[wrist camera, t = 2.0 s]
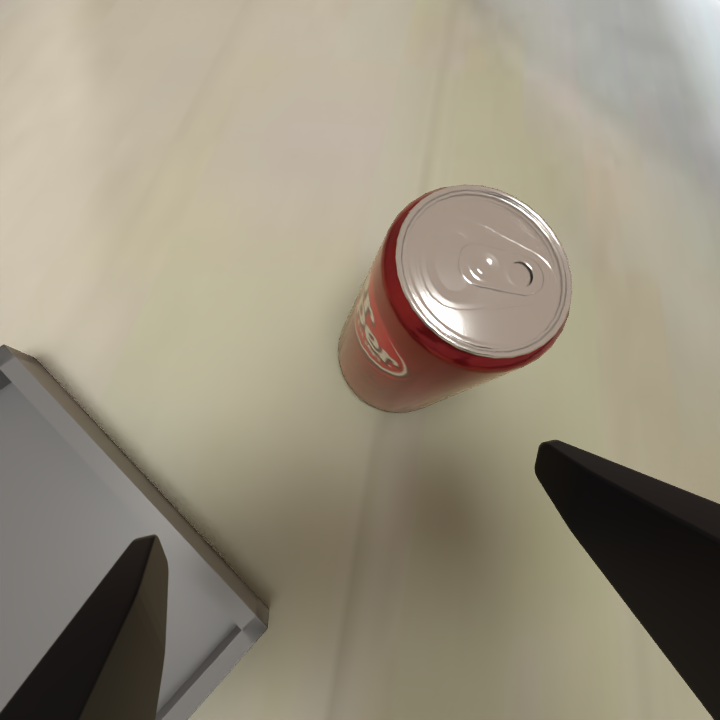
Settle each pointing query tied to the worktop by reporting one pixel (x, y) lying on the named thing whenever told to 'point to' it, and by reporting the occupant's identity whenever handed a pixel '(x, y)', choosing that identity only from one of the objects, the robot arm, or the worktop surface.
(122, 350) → the worktop surface
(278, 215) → the worktop surface
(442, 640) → the worktop surface
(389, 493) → the worktop surface
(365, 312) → the soda can
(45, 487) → the tray
